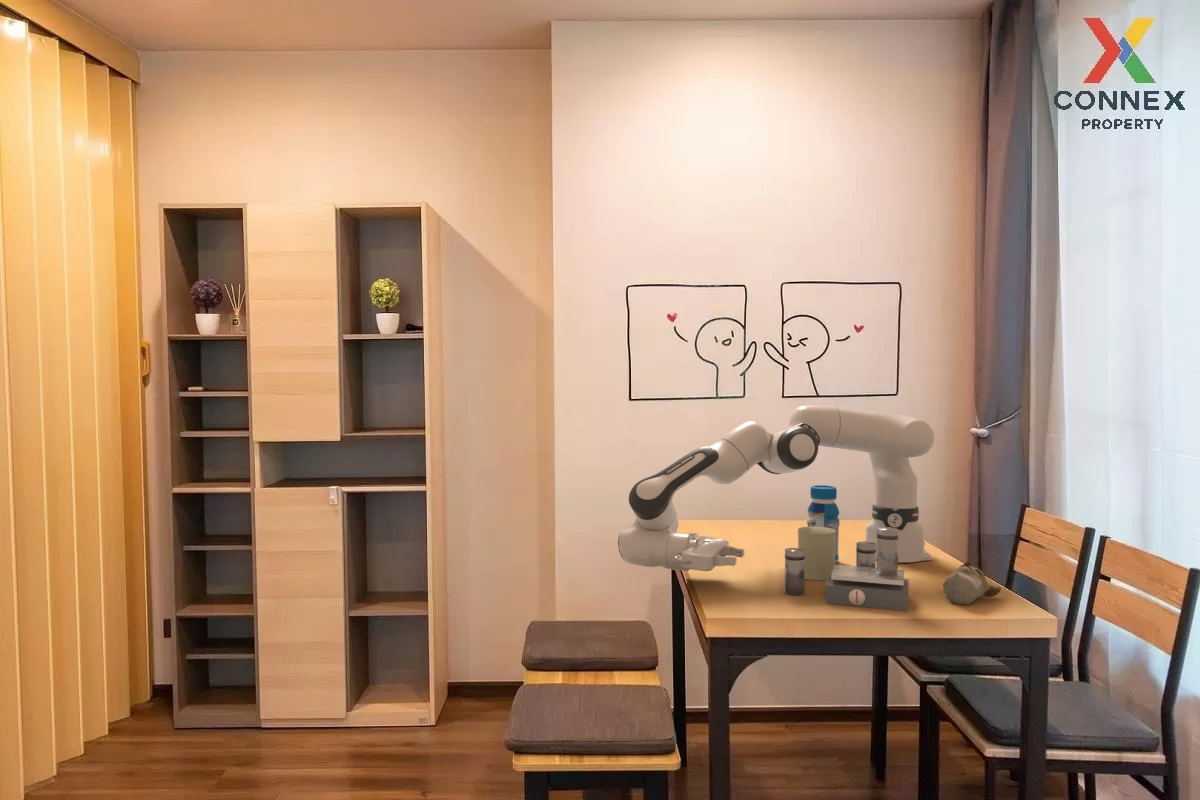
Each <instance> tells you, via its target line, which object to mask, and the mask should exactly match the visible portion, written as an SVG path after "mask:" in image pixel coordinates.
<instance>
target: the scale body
mask: <svg viewBox="0 0 1200 800" xmlns="http://www.w3.org/2000/svg"><path fill="white" fill-rule="evenodd" d="M831 574H832V573H830V576H829V579H828V580H826V581H827V582H826V585H825V604H827V605H828V604H830V605H839V606H840V605H842V606H849V607H850V606H851V607H861V608H872V609H879V610H880V609H882V610H893V611H902V612H903V611H904V612H909V604H910V603H909V595H910V594H909V591H910V589H909V588H910V587H909V586H910V585H909V584H910V581H909V578H904V585H892V584H881V583H869V582H858V581H846V580H835V579H831Z"/></svg>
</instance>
